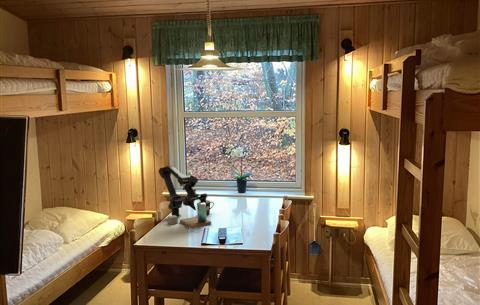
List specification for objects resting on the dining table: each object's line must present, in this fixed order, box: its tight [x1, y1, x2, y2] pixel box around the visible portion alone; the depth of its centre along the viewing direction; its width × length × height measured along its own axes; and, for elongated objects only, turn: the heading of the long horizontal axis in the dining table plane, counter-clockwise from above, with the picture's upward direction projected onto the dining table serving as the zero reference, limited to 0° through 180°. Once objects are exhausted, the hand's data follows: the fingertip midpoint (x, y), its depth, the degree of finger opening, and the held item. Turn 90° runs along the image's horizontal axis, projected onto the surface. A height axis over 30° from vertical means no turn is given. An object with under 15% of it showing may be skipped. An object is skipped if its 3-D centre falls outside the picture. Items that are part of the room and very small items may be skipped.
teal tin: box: [196, 201, 208, 223], centre depth 314 cm, size 6×6×13 cm
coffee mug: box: [198, 199, 215, 216], centre depth 340 cm, size 12×9×10 cm
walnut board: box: [179, 215, 212, 229], centre depth 318 cm, size 18×16×2 cm
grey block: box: [167, 214, 178, 225], centre depth 320 cm, size 5×5×5 cm
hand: (200, 208), depth 314 cm, fingers open, 9 cm apart
